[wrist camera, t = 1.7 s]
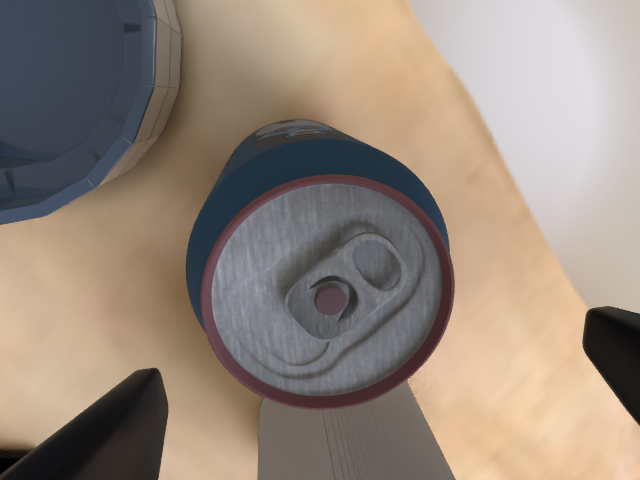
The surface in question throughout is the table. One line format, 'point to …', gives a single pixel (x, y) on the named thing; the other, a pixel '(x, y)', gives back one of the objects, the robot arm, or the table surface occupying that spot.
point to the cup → (350, 442)
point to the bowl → (80, 95)
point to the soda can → (319, 268)
